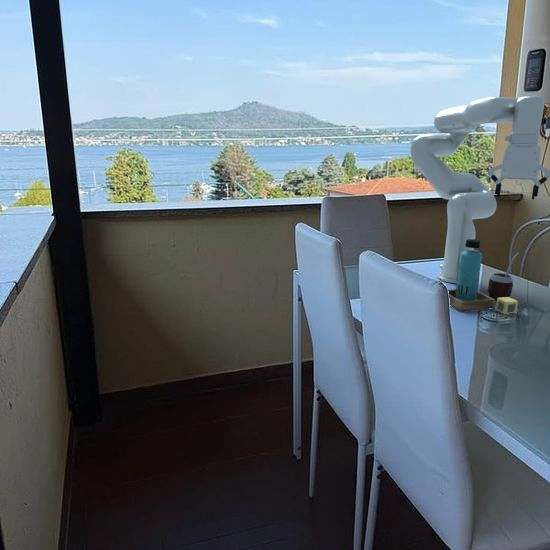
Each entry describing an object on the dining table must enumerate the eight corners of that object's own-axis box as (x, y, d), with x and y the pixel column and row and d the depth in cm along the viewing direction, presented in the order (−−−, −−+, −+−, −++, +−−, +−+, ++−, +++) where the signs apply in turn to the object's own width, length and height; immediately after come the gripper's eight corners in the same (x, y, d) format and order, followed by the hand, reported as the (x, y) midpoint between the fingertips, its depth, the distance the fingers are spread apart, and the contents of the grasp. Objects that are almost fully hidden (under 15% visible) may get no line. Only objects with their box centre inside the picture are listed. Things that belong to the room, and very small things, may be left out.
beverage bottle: (475, 299, 147) (484, 238, 141) (477, 306, 141) (485, 242, 135) (454, 297, 149) (461, 236, 143) (454, 304, 143) (462, 241, 137)
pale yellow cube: (495, 310, 140) (497, 297, 139) (506, 309, 141) (508, 296, 140) (504, 315, 137) (506, 302, 135) (516, 313, 137) (518, 301, 136)
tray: (438, 299, 149) (439, 290, 148) (469, 296, 152) (471, 287, 151) (460, 312, 138) (461, 302, 137) (493, 308, 141) (495, 299, 140)
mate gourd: (486, 300, 148) (492, 255, 144) (487, 293, 155) (493, 250, 151) (512, 304, 145) (519, 258, 141) (511, 296, 152) (518, 252, 148)
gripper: (491, 140, 139) (483, 197, 144) (558, 140, 131) (547, 201, 136) (493, 140, 145) (485, 194, 150) (556, 140, 138) (546, 198, 142)
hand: (515, 197), depth 143 cm, fingers open, 9 cm apart
